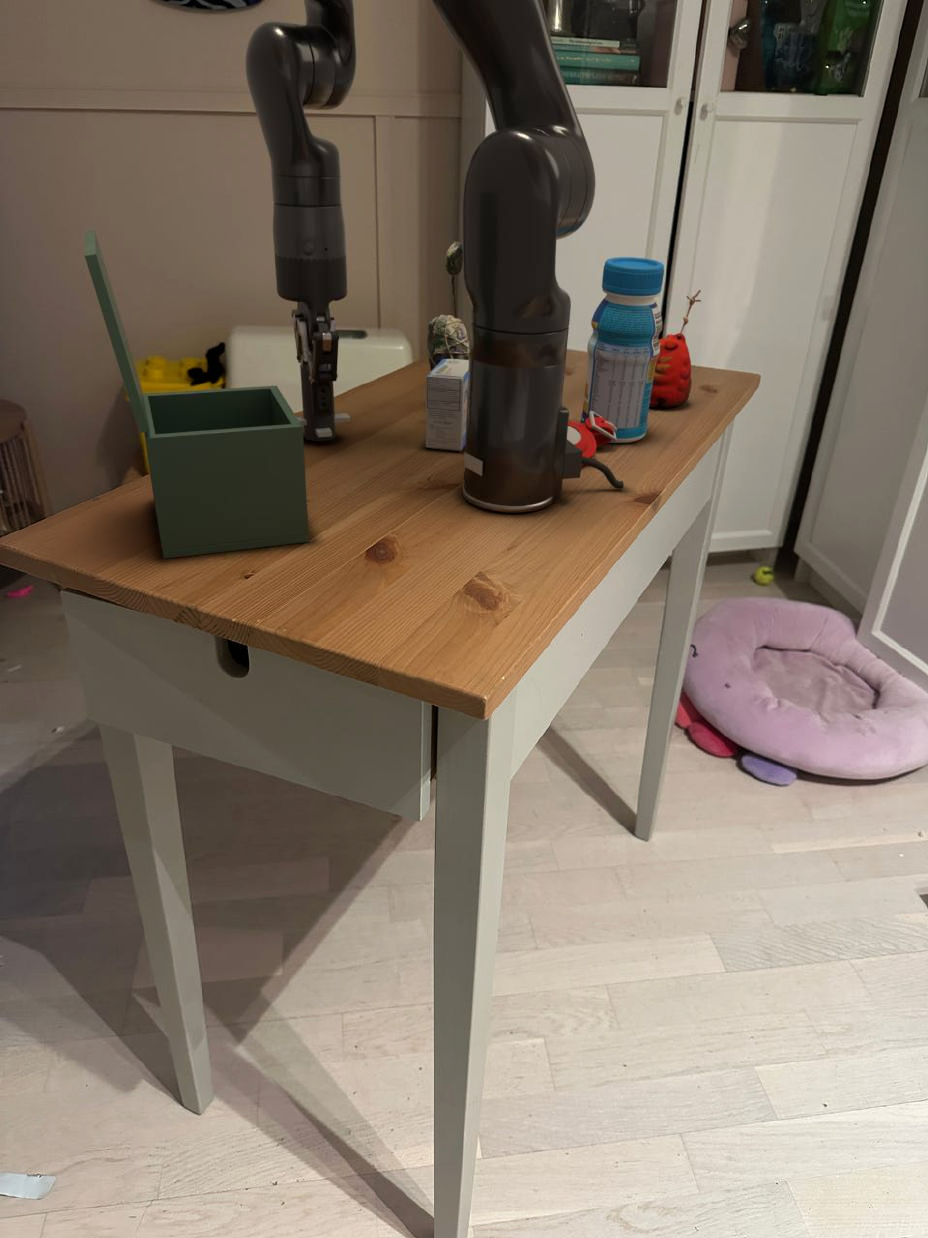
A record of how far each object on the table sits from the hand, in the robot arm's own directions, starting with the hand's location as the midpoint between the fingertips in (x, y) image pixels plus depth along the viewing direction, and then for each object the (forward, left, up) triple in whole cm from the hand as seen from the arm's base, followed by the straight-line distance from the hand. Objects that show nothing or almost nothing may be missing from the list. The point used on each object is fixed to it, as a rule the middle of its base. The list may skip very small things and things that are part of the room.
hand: (318, 409), depth 102 cm
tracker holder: (-27, +12, -4) cm, 30 cm away
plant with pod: (-20, -8, -4) cm, 22 cm away
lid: (+20, +21, +14) cm, 32 cm away
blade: (0, 0, -3) cm, 3 cm away
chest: (+13, +21, -4) cm, 25 cm away
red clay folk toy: (-48, -4, -4) cm, 49 cm away
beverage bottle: (-35, +7, -4) cm, 36 cm away
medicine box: (-15, +4, -4) cm, 16 cm away
